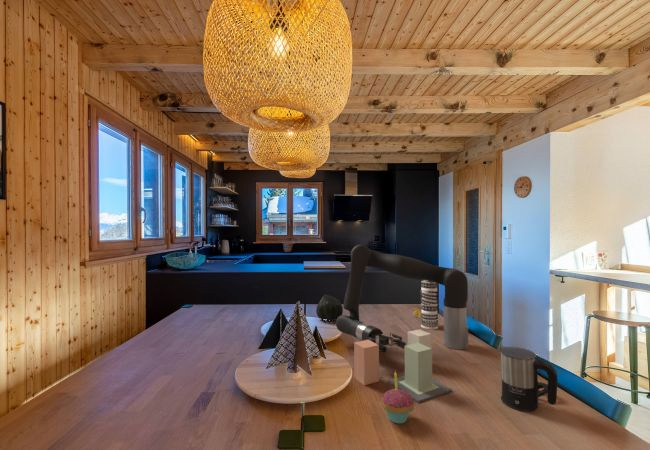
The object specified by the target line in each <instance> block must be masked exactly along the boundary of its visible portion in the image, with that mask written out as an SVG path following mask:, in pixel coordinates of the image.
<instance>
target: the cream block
mask: <svg viewBox="0 0 650 450" xmlns="http://www.w3.org/2000/svg"><path fill="white" fill-rule="evenodd" d="M406 333H407V345H410V344H415V343H420V344H422V345H425V346H427V347H429V348H432V333H430V332H428V331H425V330H422V329H420V328H419V329H415V330H409V331H407V332H406Z"/></svg>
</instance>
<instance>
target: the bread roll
mask: <svg viewBox="0 0 650 450" xmlns="http://www.w3.org/2000/svg"><path fill="white" fill-rule="evenodd" d="M421 312H422V309H416V310H415V311H413V313H412V315H413V316H414V317H415V318H419V319H422V317H421Z"/></svg>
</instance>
